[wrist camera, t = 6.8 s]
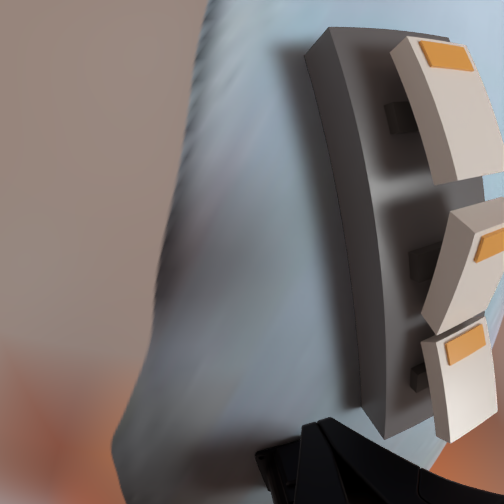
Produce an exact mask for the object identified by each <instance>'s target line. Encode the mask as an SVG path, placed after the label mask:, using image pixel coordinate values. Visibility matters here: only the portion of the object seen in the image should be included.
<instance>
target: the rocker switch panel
mask: <svg viewBox="0 0 504 504" xmlns="http://www.w3.org/2000/svg"><path fill="white" fill-rule="evenodd" d="M406 36H411V37H419V38H427V39H433V40H440V41H446V42H450V41H449V38H447V37H441V36H435V35H429V34H423V33H415V32H407V31H398V30H388V29H375V28H355V27H328V28H327V30H326V31H325V32H324V33H323V34H322V35H321V37H320V38H319V39H318V40H317V41H316V43H315V44H314V45H313V46H312V47H311V48H310V50H309V51H308V52H307V53H306V55H305V56H304V57H305V61H306V64H307V67H308V71H309V75H310V78H311V82H312V85H313V89H314V93H315V97H316V100H317V104H318V108H319V112H320V116H321V120H322V125H323V129H324V133H325V137H326V142H327V146H328V151H329V155H330V160H331V165H332V170H333V174H334V179H335V184H336V190H337V195H338V200H339V206H340V211H341V217H342V223H343V229H344V235H345V242H346V248H347V255H348V262H349V269H350V277H351V285H352V293H353V301H354V311H355V320H356V331H357V342H358V354H359V368H360V385H361V407H362V409H363V410H364V412H365V413H366V414H367V416H368V417H369V419H370V420H371V422H372V423H373V424H374V426H375V427H376V429H377V430H378V432H379V433H380V434H381V436H382V437H383V439H384V440H385V439H388V438H390V437H392V436H394V435H396V434H398V433H401V432H403V431H405V430H407V429H409V428H411V427H413V426H415V425H417V424H419V423H420V422H422V421H424V420H426V419H428V418H430V417H432V416H434V415H433V407H432V401H431V394H430V388H429V382H428V377H427V371H426V366H425V361H424V356H423V351H422V347H421V341H423V340H425V339H428V338H430V337H432V336H434V335H436V334H435V333H434V331H433V330H432V329H431V327H430V326H429V324H428V323H427V321H426V320H425V319H424V317H423V316H422V314H421V312H422V309H423V306H424V303H425V300H426V297H427V294H428V291H429V288H430V285H431V282H432V278H433V275H434V272H435V268H436V265H437V261H438V258H439V254H440V250H441V247H442V243H443V239H444V235H445V231H446V226H447V222H448V218H449V213H450V211H452V210H456V209H460V208H463V207H467V206H471V205H474V204H478V203H481V202H485V198H484V188H483V179H482V176H478V177H473V178H468V179H463V180H458V181H453V182H448V183H443V184H438V185H434V183H433V179H432V175H431V171H430V167H429V163H428V160H427V156H426V152H425V149H424V145H423V142H422V139H421V135H420V132H419V129H418V126H417V123H416V120H415V117H414V114H413V111H412V108H411V105H410V102H409V99H408V97H407V94H406V91H405V89H404V86H403V83H402V81H401V78H400V76H399V73H398V71H397V69H396V66H395V64H394V61H393V59H392V57H391V55H390V52H391V51H392V50H393V49H394V48H395V47H396V46H397V45H398V44H399V43H400V42H401V41H402V40H403V39H404V38H405V37H406ZM484 313H485V310H484V311H483V312H481V313H479V314H477V315H475V316H474V317H483V316H484Z"/></svg>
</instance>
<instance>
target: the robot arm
mask: <svg viewBox="0 0 504 504" xmlns="http://www.w3.org/2000/svg"><path fill="white" fill-rule="evenodd" d="M255 459H256V462H257V464H258V467H259V469H260V472H261V474H262V477H263V479H264V482H265V484H266V487H267V489H268V491H270V492H271V495H272V499H273V503H274V504H504V495H501V494H496V493H492V492H488V491H484V490H480V489H477V488H473V487H469V486H466V485H462V484H460V483H457V482H454V481H451V480H448V479H445V478H443V477H441V476H438V475H436V474H434V473H432V472H430V471H428V470H426V469H424V468H421V469H420V467H419V466H417V465H415V464H413V463H412V462H410V461H408V460H406V459H404V458H402V457H400V456H398V455H396V454H394V453H392V452H391V451H389V450H387V449H385V448H383V447H381V446H380V445H378V444H376V443H374V442H373V441H371V440H369V439H367V438H365V437H364V436H362V435H360V434H359V433H357V432H355V431H353V430H352V429H350V428H348V427H347V426H345V425H343V424H342V423H340V422H338V421H337V420H335V419H333V418H331V417H328V418H325V419H322V420H319V421H318V422H317V423H316V422H312V423H309V424H305V425H303V426H302V431H301V440H299V441H296V442H292V443H289V444H285V445H282V446H278V447H274V448H270V449H266V450H262V451H259V452H257V453H255Z"/></svg>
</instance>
